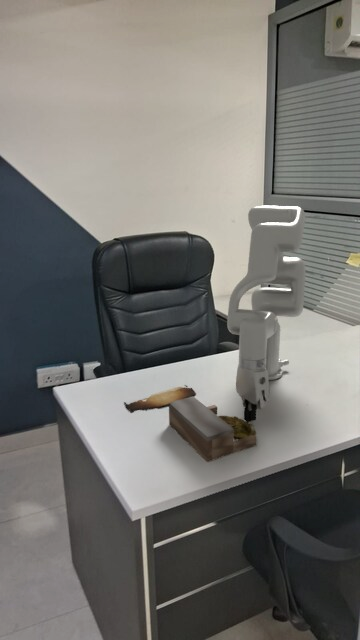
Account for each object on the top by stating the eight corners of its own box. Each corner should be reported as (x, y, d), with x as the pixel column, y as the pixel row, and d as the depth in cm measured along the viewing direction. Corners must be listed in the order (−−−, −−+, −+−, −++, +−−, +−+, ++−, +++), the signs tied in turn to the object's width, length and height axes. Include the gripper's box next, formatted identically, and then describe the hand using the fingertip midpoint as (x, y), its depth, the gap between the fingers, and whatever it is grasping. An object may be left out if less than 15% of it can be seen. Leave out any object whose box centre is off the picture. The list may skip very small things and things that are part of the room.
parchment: (186, 385, 165) (186, 382, 165) (202, 395, 157) (202, 393, 157) (121, 404, 153) (120, 402, 153) (135, 417, 145) (134, 414, 145)
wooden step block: (214, 412, 146) (214, 390, 144) (256, 445, 129) (257, 421, 127) (169, 424, 139) (168, 402, 137) (207, 462, 122) (207, 437, 120)
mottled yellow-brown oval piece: (205, 428, 140) (244, 449, 129) (204, 414, 139) (243, 434, 128) (228, 415, 146) (266, 434, 135) (227, 401, 144) (266, 419, 133)
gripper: (280, 368, 130) (276, 428, 135) (247, 350, 142) (245, 406, 148) (258, 373, 126) (255, 435, 132) (226, 355, 139) (224, 412, 144)
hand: (250, 420), depth 140 cm, fingers closed
